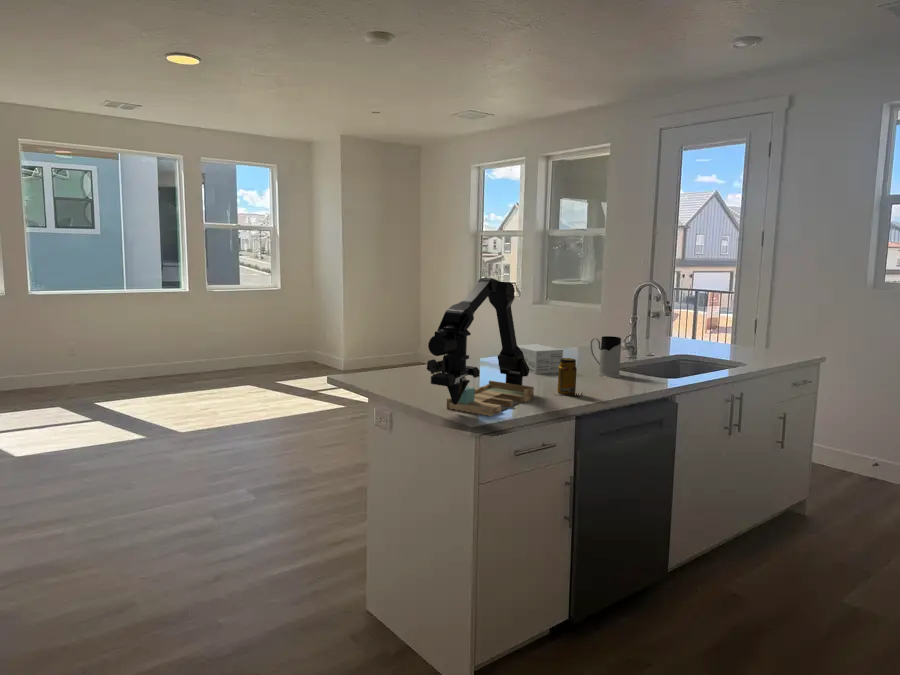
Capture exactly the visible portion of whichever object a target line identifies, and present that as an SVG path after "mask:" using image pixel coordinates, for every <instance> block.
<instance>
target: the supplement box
mask: <svg viewBox="0 0 900 675" xmlns="http://www.w3.org/2000/svg"><path fill="white" fill-rule="evenodd" d="M517 346H518V347H519V348H520V349H521V351H522V352H523V355H524V359H525V361H526V363H527V365H528V367H529V369H530V370H529V373H533V374H536V375H537V374H539V375H540V374H552V373H554V374H555V373H559V366H560V360H561V359H562V358H564V357H563V356H564V349H561V348H556V347H552V346H548V345H543V344H535V343H534V344H517Z"/></svg>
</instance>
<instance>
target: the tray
mask: <svg viewBox="0 0 900 675" xmlns="http://www.w3.org/2000/svg"><path fill="white" fill-rule="evenodd" d="M534 391H535V388H534V386H529V385H523V384H522V385H516V384H510V383H506V382H502V381H494V380H489V381H488V383H487V384H485V385H482V386H479V387H477V388H475V398H474V401H473V402H471V403H468V404H462V403H458V404H456V405H454V404H453V403H452V400H451V397H448V398H446V409H447V408H449V409H448V410H452V409H455V410H454V411H458V410H461V411H460V412H463V411H466V412H465V413H469V412H472V413H471V414H475V413H477V414H476V415H480V414H482V415H481V416H486V415H488V417H492V415H493V416H494V414H495V415H497V414H499V413H501V411H502V412H504V411H505V410H509V409H511V408H513V407H516V406H518V405H519V403H520V404H522V403H528V402H530V401H532V400H534V393H535V392H534ZM527 401H528V402H527ZM521 402H522V403H521ZM510 407H511V408H510Z"/></svg>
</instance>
